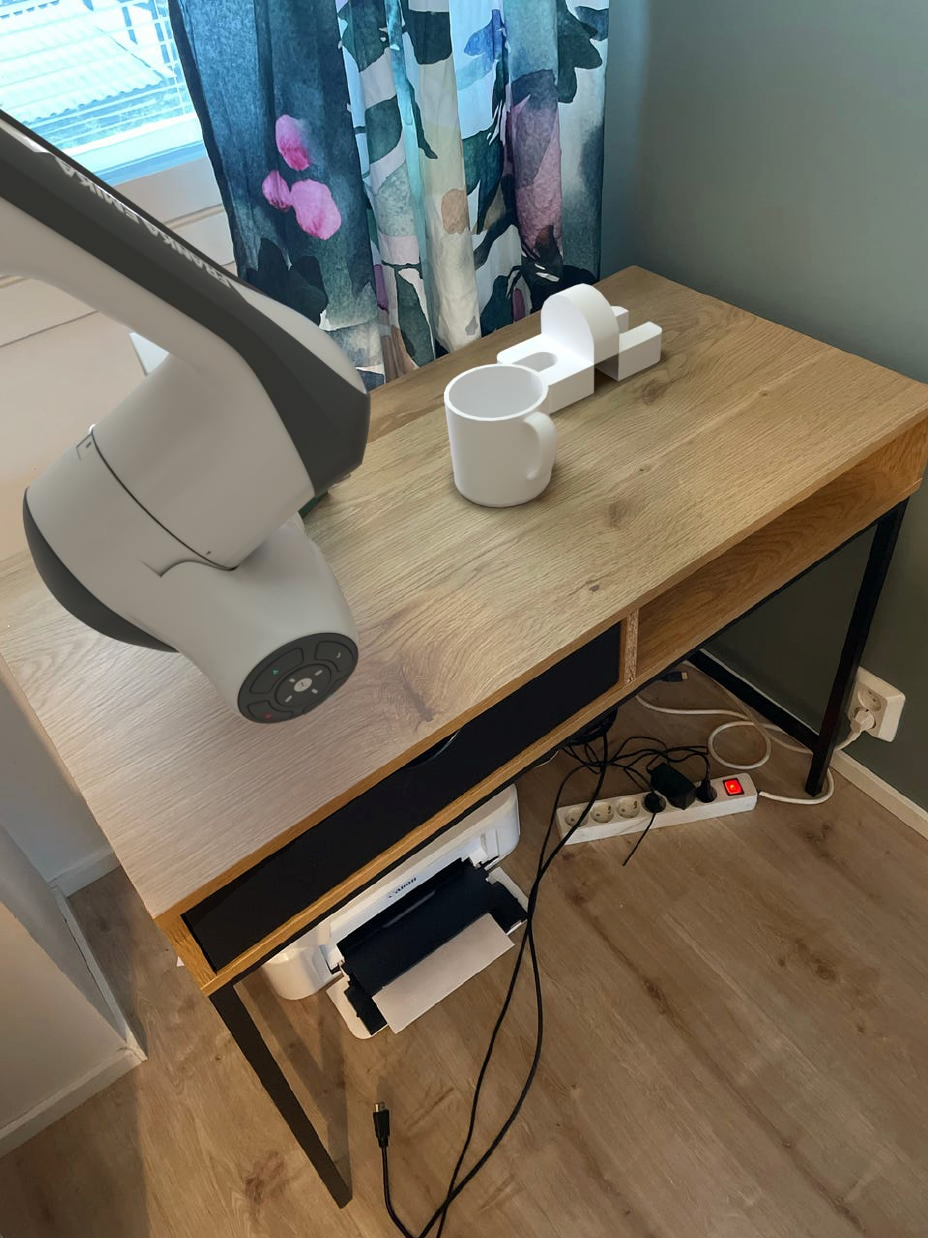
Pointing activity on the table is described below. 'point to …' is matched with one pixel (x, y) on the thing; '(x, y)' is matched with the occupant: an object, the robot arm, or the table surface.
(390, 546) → the table surface
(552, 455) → the mug
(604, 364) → the slotted bracket
